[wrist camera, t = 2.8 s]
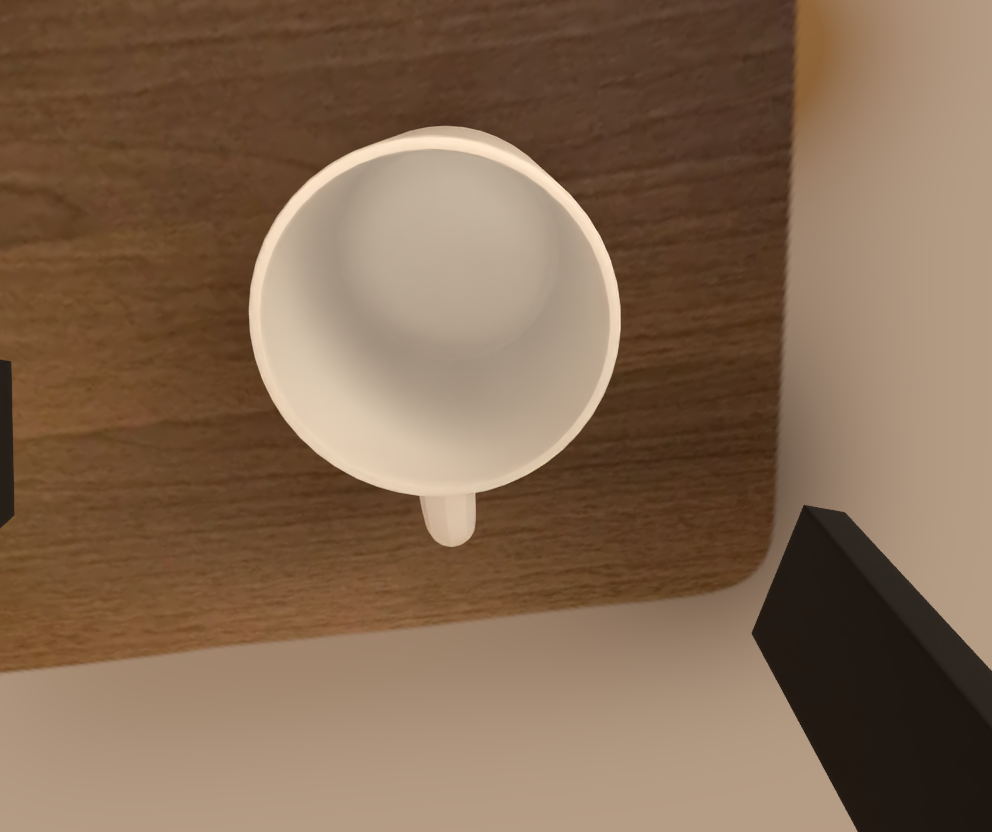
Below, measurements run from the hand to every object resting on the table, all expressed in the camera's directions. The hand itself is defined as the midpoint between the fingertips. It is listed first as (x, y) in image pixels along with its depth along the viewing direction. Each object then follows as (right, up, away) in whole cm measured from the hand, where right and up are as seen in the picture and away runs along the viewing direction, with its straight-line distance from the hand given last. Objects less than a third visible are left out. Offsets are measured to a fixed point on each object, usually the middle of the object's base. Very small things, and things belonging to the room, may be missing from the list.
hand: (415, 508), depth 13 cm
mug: (0, +6, +15) cm, 16 cm away
